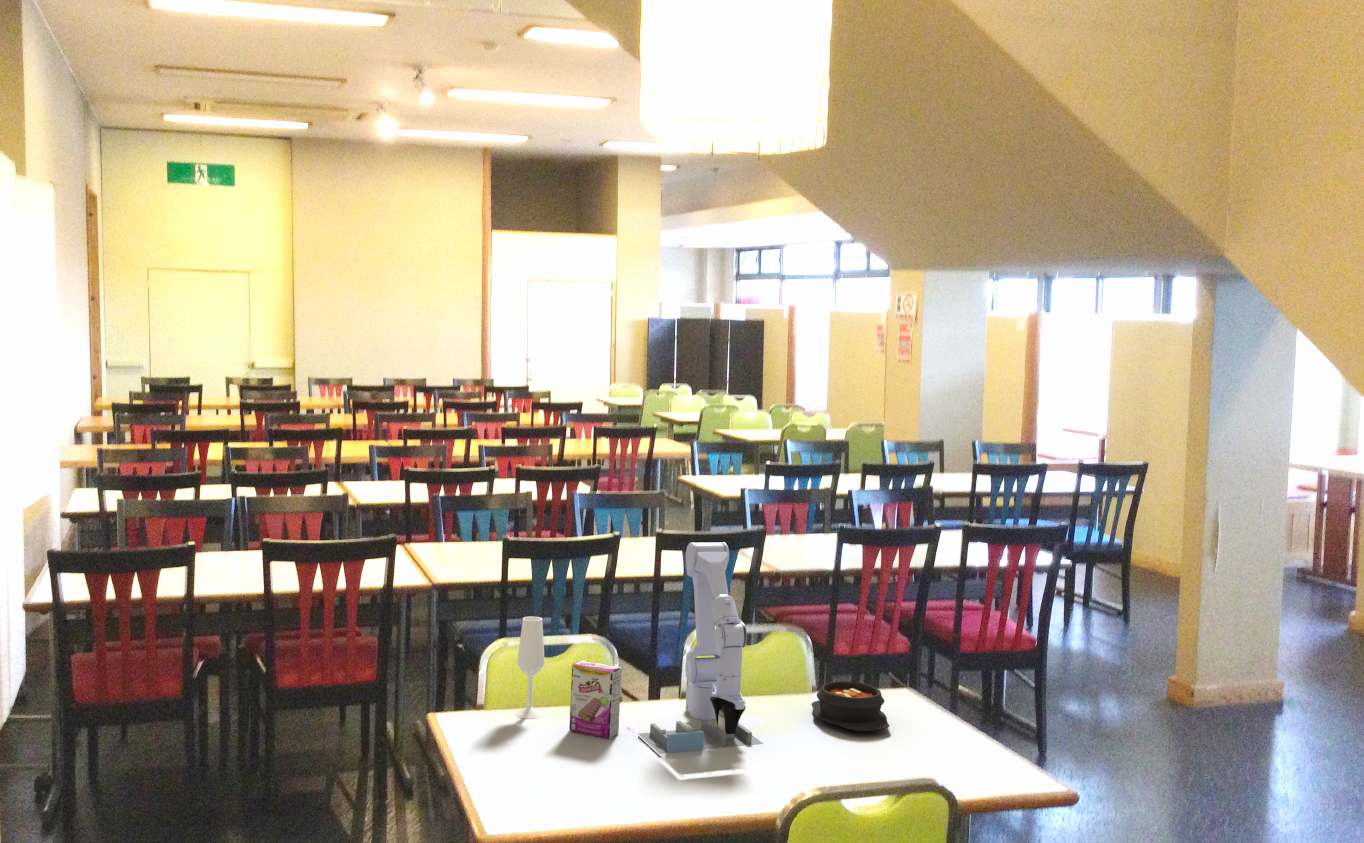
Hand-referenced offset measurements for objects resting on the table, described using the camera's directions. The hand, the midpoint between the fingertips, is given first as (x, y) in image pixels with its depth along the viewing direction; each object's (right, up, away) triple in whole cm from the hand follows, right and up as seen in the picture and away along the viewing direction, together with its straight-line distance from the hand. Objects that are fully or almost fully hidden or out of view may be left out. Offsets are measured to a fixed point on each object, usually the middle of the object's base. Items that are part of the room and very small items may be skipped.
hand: (726, 730), depth 285 cm
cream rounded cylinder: (0, -1, 0) cm, 1 cm away
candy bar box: (-32, -1, +1) cm, 32 cm away
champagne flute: (-48, 0, +13) cm, 50 cm away
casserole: (+32, -3, +19) cm, 37 cm away
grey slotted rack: (-6, -2, -2) cm, 7 cm away
